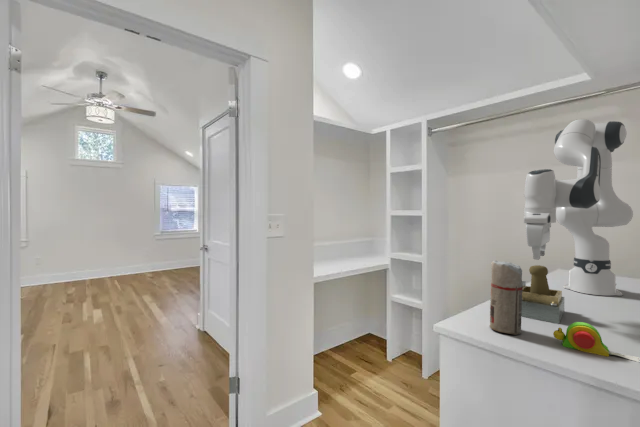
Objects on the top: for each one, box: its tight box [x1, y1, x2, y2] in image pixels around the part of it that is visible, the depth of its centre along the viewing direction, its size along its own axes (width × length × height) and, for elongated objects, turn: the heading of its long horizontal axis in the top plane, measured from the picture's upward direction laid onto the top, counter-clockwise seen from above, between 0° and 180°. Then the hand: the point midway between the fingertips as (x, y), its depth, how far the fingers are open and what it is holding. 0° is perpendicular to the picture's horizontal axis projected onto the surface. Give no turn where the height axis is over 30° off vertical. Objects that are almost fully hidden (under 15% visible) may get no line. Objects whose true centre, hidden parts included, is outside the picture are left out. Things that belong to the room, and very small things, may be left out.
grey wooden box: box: [521, 280, 565, 325], centre depth 104 cm, size 16×12×9 cm
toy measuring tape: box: [552, 321, 640, 363], centre depth 75 cm, size 6×19×7 cm, turn 52°
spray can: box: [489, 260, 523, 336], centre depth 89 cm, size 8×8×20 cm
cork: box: [528, 264, 551, 296], centre depth 104 cm, size 6×6×11 cm
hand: (539, 257), depth 104 cm, fingers open, 8 cm apart
